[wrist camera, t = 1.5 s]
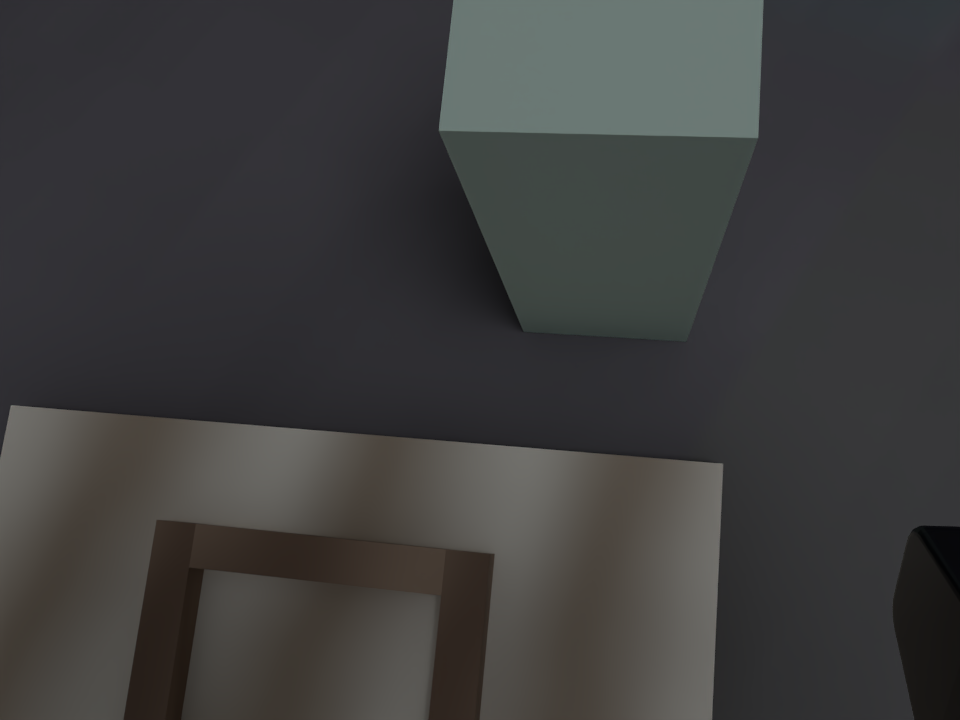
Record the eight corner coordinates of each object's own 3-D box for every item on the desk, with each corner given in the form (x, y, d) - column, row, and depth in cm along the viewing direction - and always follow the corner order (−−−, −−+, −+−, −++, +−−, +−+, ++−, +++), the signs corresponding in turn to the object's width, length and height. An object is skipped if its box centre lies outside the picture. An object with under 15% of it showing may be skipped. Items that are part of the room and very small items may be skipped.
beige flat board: (718, 466, 21) (727, 460, 19) (691, 1096, 18) (698, 1147, 17) (31, 409, 24) (-11, 400, 22) (-76, 943, 21) (-130, 975, 20)
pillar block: (694, 187, 22) (769, -145, 11) (686, 341, 21) (758, 137, 11) (537, 182, 23) (469, -137, 12) (523, 331, 22) (439, 131, 11)
